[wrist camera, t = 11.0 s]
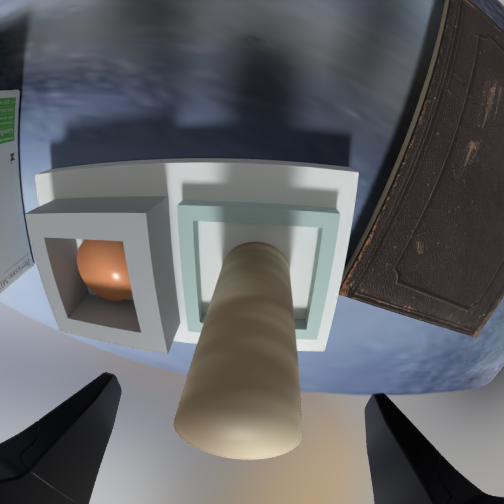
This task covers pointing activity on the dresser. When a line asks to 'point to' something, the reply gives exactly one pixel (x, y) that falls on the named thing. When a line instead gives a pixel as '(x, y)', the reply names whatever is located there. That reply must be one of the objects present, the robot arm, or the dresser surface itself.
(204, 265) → the panel
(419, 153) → the hardcover book
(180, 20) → the dresser surface
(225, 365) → the beige cylindrical rod
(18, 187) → the skincare box
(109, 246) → the button
